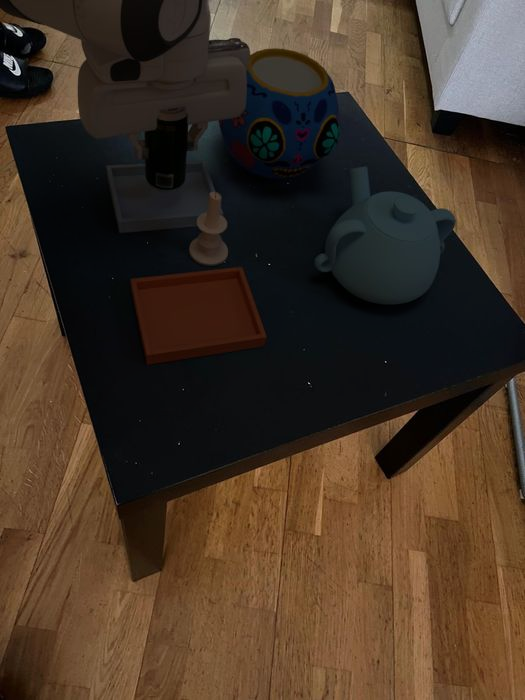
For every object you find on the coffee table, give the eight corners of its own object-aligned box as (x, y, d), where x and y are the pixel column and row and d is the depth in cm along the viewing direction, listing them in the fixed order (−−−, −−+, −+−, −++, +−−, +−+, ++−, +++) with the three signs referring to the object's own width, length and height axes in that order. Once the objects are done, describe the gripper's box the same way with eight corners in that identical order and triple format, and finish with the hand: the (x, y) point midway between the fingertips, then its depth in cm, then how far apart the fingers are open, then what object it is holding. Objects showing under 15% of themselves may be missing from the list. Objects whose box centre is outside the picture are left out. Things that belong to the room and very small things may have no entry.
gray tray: (119, 233, 72) (118, 221, 70) (107, 177, 77) (106, 165, 76) (221, 224, 76) (223, 213, 74) (203, 172, 81) (204, 160, 80)
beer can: (187, 194, 73) (193, 113, 63) (147, 194, 72) (146, 112, 62) (182, 168, 76) (186, 87, 66) (143, 168, 74) (141, 85, 64)
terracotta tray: (146, 365, 61) (146, 355, 60) (130, 289, 67) (130, 278, 65) (263, 346, 66) (266, 337, 64) (239, 277, 71) (242, 266, 69)
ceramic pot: (232, 206, 78) (246, 113, 66) (201, 130, 87) (208, 35, 75) (339, 196, 84) (371, 107, 71) (300, 125, 92) (322, 35, 80)
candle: (220, 235, 75) (229, 174, 66) (232, 263, 72) (243, 204, 64) (184, 241, 73) (188, 179, 64) (195, 269, 71) (201, 209, 62)
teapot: (330, 327, 69) (362, 260, 59) (278, 218, 79) (297, 144, 68) (457, 303, 75) (505, 239, 65) (394, 205, 85) (428, 135, 74)
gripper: (240, 22, 64) (227, 126, 75) (65, 36, 56) (80, 149, 67) (264, 51, 61) (247, 154, 72) (84, 70, 53) (96, 182, 65)
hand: (165, 152), depth 70 cm, fingers closed on beer can, 5 cm apart
